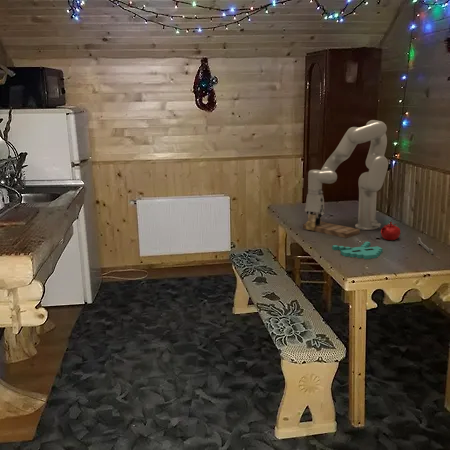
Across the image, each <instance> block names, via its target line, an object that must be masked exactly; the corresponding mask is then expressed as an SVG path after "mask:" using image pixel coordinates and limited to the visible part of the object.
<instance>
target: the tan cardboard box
mask: <svg viewBox="0 0 450 450" xmlns="http://www.w3.org/2000/svg"><path fill="white" fill-rule="evenodd" d="M318 215H319V213H318ZM316 218H317V217H316V213H315V212H313V214H310V215H308V214H307V219H308V220H307V221H306V223H305V224H306V229H305V230H308V231H312V230H313V231H312V232H315V231H314V230H315V226H317V225H316ZM321 222H322V217H321V218H320V224H321ZM320 224H319V225H320Z"/></svg>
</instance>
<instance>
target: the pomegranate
mask: <svg viewBox="0 0 450 450" xmlns="http://www.w3.org/2000/svg"><path fill="white" fill-rule="evenodd" d="M380 234H381V238H382V239H384V240H386V241H395V240H398V239H399V238H400V236H401V229H400V227H399V226H398V224H397V223H393V221H390V222H389V223H387V224H384V225H383V227H382V228H381V229H380Z"/></svg>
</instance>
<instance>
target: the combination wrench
mask: <svg viewBox="0 0 450 450" xmlns="http://www.w3.org/2000/svg"><path fill="white" fill-rule="evenodd" d="M416 243H417V245H418V244H420V246H422V248H423V249H425V250H426V252H428V254H429V253H431V254H432V255H433V254H434V250H433V248H429V247H428V246H427V245H426V244H424V243H423V242H422V240H421V237H419V236H417V240H416Z"/></svg>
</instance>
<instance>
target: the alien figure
mask: <svg viewBox="0 0 450 450" xmlns="http://www.w3.org/2000/svg"><path fill="white" fill-rule="evenodd" d="M371 243H372V242H370V241H364V243H362V244H361V245H360V246H355V247H350V246H344V245H336V244H334V245H332V246H331V249H332V250H333V251H339V250H340V255H341V256H343V257H345V258H346V257H350V258H351V257H353V258H356V257H357V259H363V258H364V260H371V258H372V259H377V257H380V255H381V254H382V253H383V251H384V249H383V248H382V247H380V246H378V245H376V246H371Z"/></svg>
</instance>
